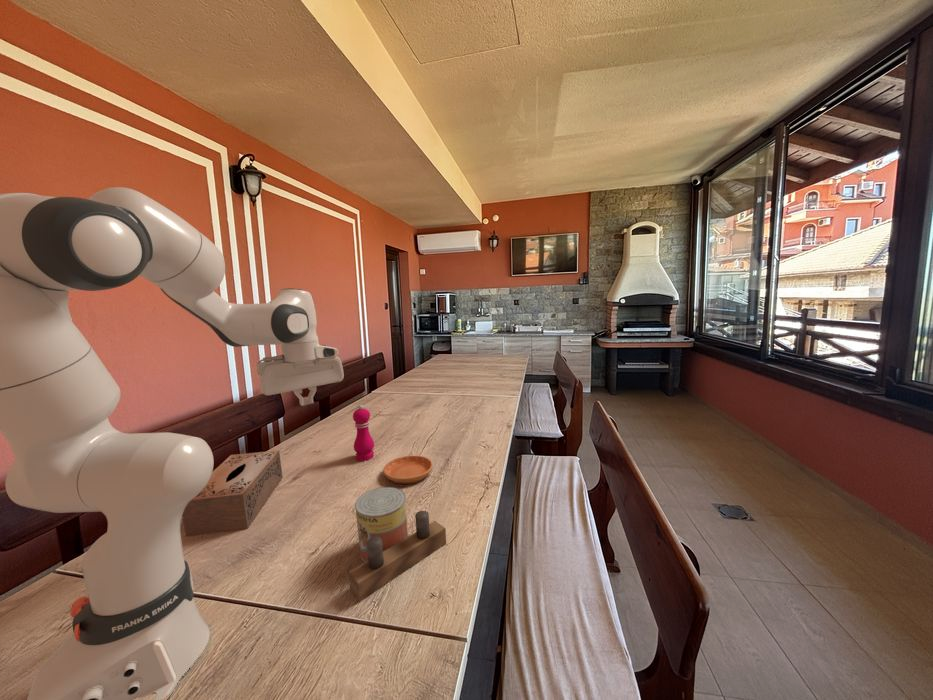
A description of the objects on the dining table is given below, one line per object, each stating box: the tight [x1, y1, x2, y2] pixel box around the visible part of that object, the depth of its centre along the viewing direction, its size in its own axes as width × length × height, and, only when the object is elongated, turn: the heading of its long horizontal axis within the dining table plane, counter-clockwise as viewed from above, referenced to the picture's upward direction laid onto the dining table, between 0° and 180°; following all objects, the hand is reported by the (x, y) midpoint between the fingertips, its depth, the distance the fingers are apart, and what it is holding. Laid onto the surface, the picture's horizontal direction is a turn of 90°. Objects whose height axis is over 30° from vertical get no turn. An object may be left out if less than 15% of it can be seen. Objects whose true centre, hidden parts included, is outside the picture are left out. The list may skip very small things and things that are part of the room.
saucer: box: [383, 455, 433, 485], centre depth 116 cm, size 16×16×3 cm
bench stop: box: [348, 510, 447, 602], centre depth 76 cm, size 22×4×9 cm, turn 134°
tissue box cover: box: [182, 450, 284, 537], centre depth 101 cm, size 26×14×10 cm, turn 9°
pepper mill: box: [352, 404, 375, 462], centre depth 127 cm, size 7×7×20 cm
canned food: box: [354, 486, 409, 563], centre depth 81 cm, size 11×11×12 cm
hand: (306, 404), depth 93 cm, fingers closed
